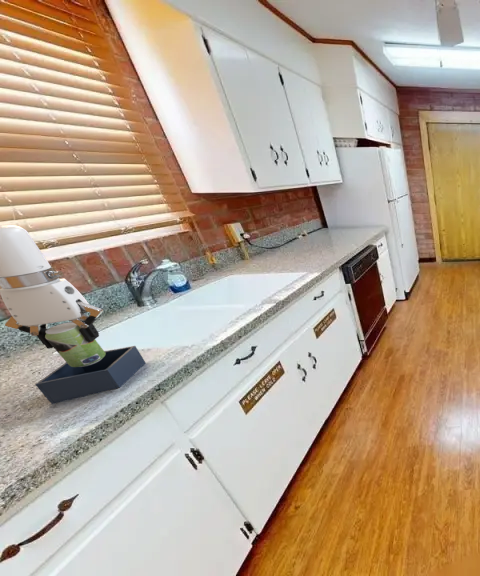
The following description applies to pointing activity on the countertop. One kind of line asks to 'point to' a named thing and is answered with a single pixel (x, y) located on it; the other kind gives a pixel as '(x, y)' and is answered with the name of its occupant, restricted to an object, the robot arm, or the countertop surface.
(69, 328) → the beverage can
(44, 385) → the bin
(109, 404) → the countertop surface
